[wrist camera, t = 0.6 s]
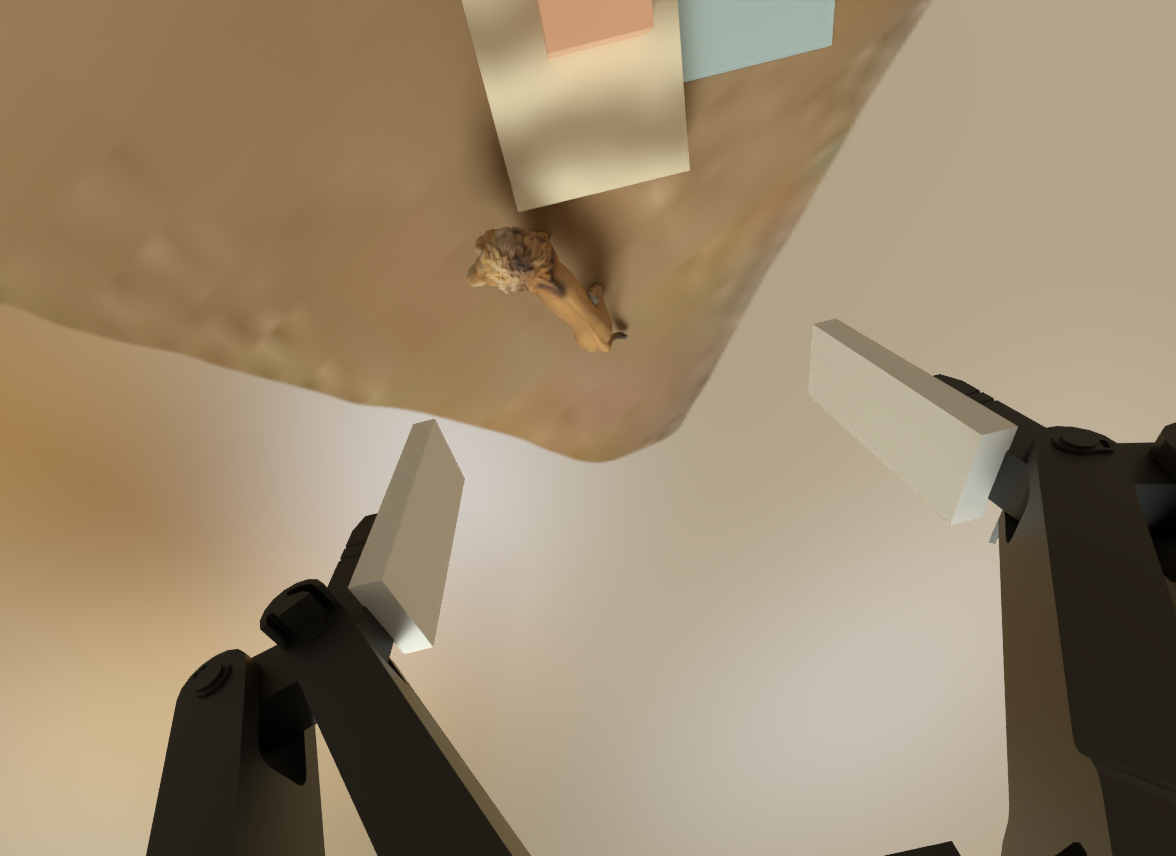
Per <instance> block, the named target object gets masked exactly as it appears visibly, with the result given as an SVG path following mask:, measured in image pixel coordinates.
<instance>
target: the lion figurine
mask: <svg viewBox="0 0 1176 856" xmlns="http://www.w3.org/2000/svg"><path fill="white" fill-rule="evenodd" d="M475 242H476V247H475V250H476V252H477V253H478V255H479V256H478V258H477V260H476V263H475V264H474V265H472V266H471V267H470V268H469V270H468V276H467V280H468V283H469V284H470V285H471V286H473V287H476V286H483V285H485V284H486V283H487V284H488V285H490V286H498V287H499V288H500V289H501V290H503V291H504V292H505V293H506V294H508V293H509V291H513V292H516V291H521V292H524V291H525V292H529V293H531V294H534V295H537V296H538V297H539V298H540V300H541V301H542V302H543V303H544V304H545V305H546V306H547V307H548V308H549V309H550V310H551V311H552V312H553V313H555V314H556V315H557V316H559V317H560V318H561V319H563V320H564V321H566V322H567V323H568V324H569V325H570V326H571V328H572V329H573V331H574V337H575V339H576V341H577V342H578V343H579V344H580V345H581V346H582V347H583V348H584V349H586V350H587V351H589V352H595V351H596V350H601V351H603V352H608V351H610V349H611V345H612V342H613V341H614V340H616V339H626V338H627V337H628V336H627V335H626V334H624V333H623V332H617V333H614V334H612V321H611V318H610V315H609V313H608V311H607V309H606V307H605V304H604V301H603V292H602V289H601V287H600V286H599V285H593V286H592V287H591V288H590V289H589V295H590V297H591V298H592V300H593V301H594V302H595V305H596V306H595V307H594V306H593V305H592V304H591V302H590V300H589V298H588V296H587V295H586V293H585V291H584V289H583V287H582V286H581V285H580V283H579V282H578V280H577V279H576V277H575V276H574V275H573V273H572V272H571V271H570V270H569V269H568V268H567V267H566V266H564V265H563V264H562V263H560V262H559V258H558V255H557V253H556V252H555V250H554V249H553V246H552V245H551V243H550V242H549V237H548V235H547V234H546V233H545V232H536V231H528V230H527V229H525V228H521V227H519V228H518V227H512V228H510V227H504V228H502V229H496V230H495V229H492V230H489V231H486V232H485V234H484V235H483V236H480V237H479V238H478V239H477V240H476V241H475ZM611 334H612V335H611Z"/></svg>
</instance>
